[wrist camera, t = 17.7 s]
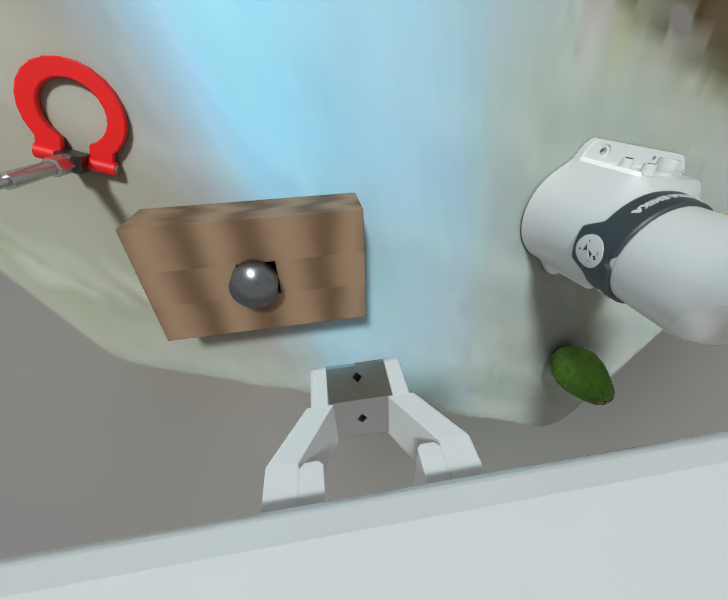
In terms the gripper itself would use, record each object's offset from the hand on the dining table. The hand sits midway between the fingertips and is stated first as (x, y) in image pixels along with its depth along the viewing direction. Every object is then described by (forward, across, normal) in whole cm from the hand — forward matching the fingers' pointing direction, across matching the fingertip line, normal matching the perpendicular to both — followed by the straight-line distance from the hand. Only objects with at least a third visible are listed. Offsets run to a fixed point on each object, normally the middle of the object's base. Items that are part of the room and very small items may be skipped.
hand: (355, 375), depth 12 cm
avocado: (+33, -41, +37) cm, 64 cm away
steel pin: (+31, +9, +10) cm, 34 cm away
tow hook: (+31, +22, -6) cm, 39 cm away
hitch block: (+31, +8, +10) cm, 34 cm away
